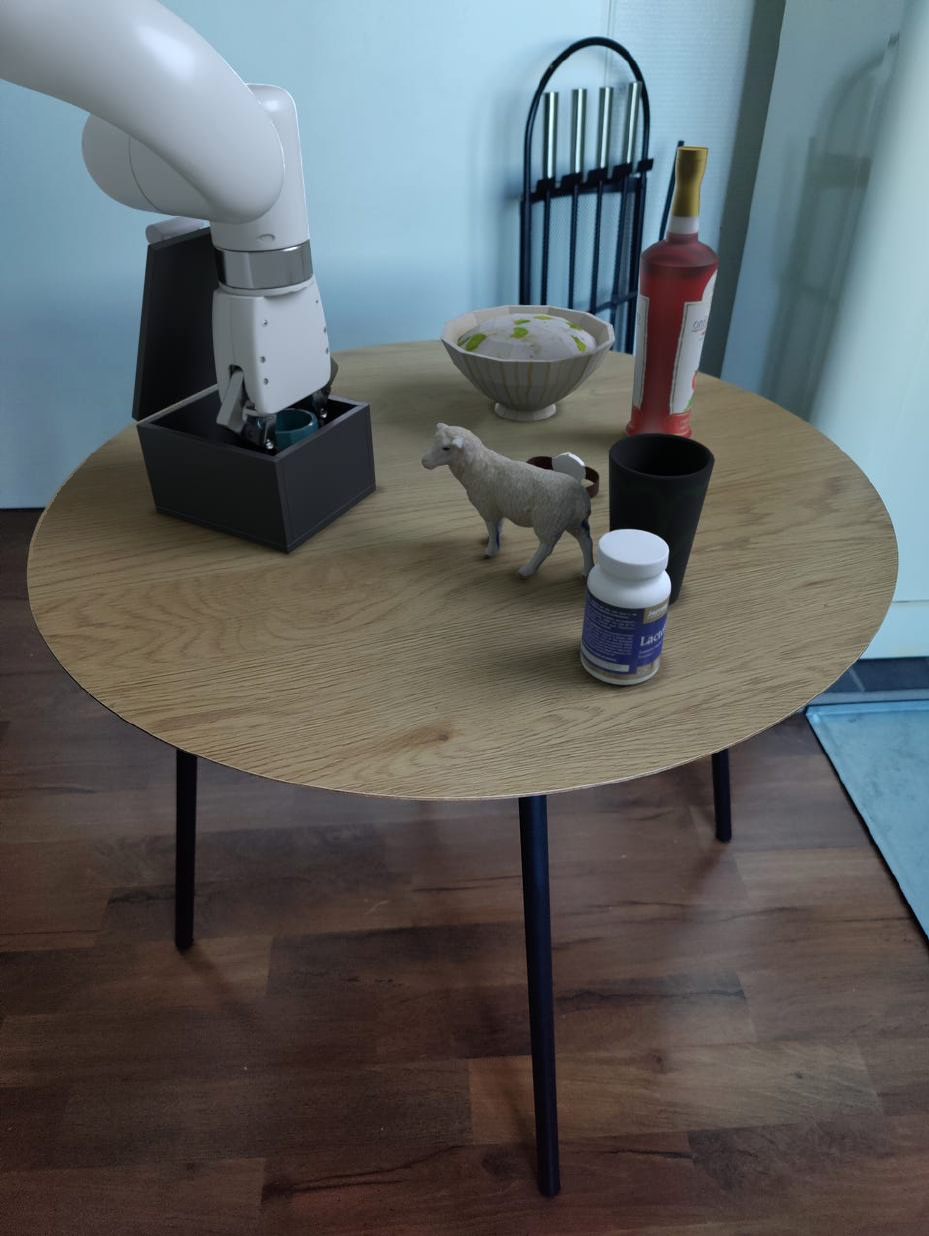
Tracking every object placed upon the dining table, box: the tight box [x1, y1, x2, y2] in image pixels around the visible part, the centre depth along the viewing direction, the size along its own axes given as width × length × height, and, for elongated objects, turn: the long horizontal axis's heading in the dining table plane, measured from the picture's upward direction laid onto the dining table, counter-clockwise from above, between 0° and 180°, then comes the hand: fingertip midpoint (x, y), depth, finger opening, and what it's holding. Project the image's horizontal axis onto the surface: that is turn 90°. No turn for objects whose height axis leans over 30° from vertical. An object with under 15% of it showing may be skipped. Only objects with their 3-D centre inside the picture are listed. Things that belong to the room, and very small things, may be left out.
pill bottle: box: [579, 529, 671, 686], centre depth 63 cm, size 6×6×10 cm
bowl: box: [439, 304, 616, 422], centre depth 101 cm, size 19×19×10 cm
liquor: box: [624, 145, 721, 439], centre depth 88 cm, size 7×7×28 cm
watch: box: [525, 451, 601, 500], centre depth 87 cm, size 8×5×4 cm, turn 57°
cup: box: [608, 433, 716, 607], centre depth 70 cm, size 8×8×12 cm
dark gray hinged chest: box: [135, 385, 377, 555], centre depth 84 cm, size 16×14×9 cm
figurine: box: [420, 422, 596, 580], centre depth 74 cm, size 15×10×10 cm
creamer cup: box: [255, 408, 318, 452], centre depth 81 cm, size 5×6×6 cm
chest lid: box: [131, 216, 220, 423], centre depth 79 cm, size 16×14×5 cm
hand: (291, 469), depth 83 cm, fingers closed on creamer cup, 5 cm apart
